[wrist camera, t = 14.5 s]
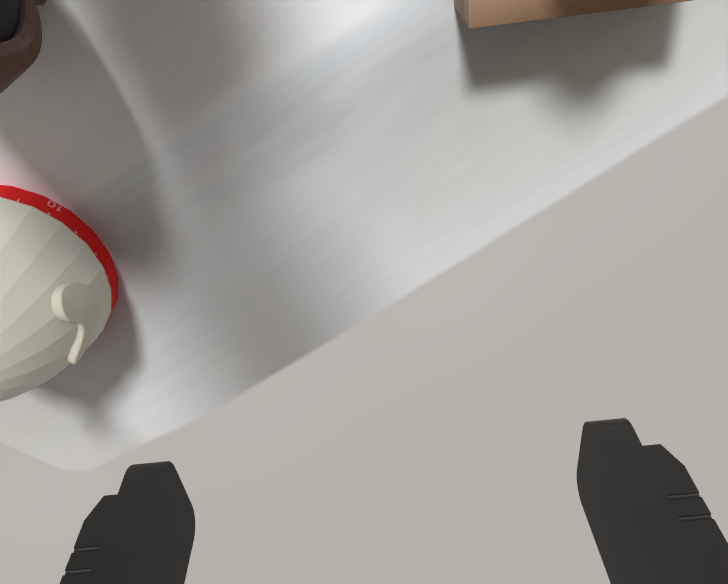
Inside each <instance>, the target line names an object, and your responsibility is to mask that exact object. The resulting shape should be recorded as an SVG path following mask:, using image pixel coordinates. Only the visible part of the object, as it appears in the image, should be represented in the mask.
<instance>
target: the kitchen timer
mask: <svg viewBox="0 0 728 584" xmlns="http://www.w3.org/2000/svg"><path fill="white" fill-rule="evenodd" d="M117 299H118V276H117V273H116V270H115V267H114V264H113V262H112V259H111V256H110V254H109V252H108V251H107V249H106V248H105V246H104V245H103V244H102V242H101V241H100V239H99V238H98V236H97V235H96V234H95V232H94V231H93V230H92V229H91V228H89V227H88V226H87V225H86V224H85V223H84V222H83V221H81V220H80V219H79V218H78V217H77V216H76V215H75V214H74V213H72V212H71V211H69V210H68V209H66V208H64V207H62V206H60V205H59V204H57V203H55V202H53V201H52V200H50V199H48V198H46V197H44V196H42V195H39V194H36V193H33V192H29V191H26V190H23V189H20V188H16V187H13V186H4V185H0V401H4V400H7V399H10V398H13V397H16V396H18V395H20V394H22V393H25V392H27V391H29V390H31V389H33V388H35V387H37V386H39V385H42V384H43V383H45V382H47V381H49V380H50V379H52V378H53V377H54V376H56V375H57V374H58V373H60V372H61V371H62V370H63V369H65V368H66V367H67V366H68V365H69V364H71V363H72V364H73V365H75V364H77V363H78V361H79V360H80V358H81V357H82V355H83V354H84V352H85V351H86V349H87V348H88V347H89V346H90V345H91V344H92V343H93V342H94V341H95V340H96V339H97V337H98V336H99V335H100V334H101V332H102V331H103V329H104V327H105V325H106V323H107V321H108V319H109V317H110V315H111V313H112V311H113V308H114V306H115V303H116V301H117Z"/></svg>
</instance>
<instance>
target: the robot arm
mask: <svg viewBox="0 0 728 584" xmlns="http://www.w3.org/2000/svg"><path fill="white" fill-rule="evenodd" d="M577 485H578V491H579V496H580V500H581V503H582V506H583V509H584V512H585V514H586V517H587V520H588V522H589V525H590V528H591V531H592V533H593V536H594V539H595V542H596V544H597V547H598V550H599V552H600V555H601V558H602V560H603V563H604V566H605V569H606V571H607V574H608V577H609V580H610V583H611V584H728V543H727V541H726V540H725V538H724V536H723V534H722V532H721V531H720V529H719V527H718V525H717V524H716V522H715V520H714V519H712V518H711V513H710V511H709V509H708V507H707V506H706V504H705V502H704V500H703V498H702V497H700V496H699V491H698V489H697V488H696V486H695V484H694V482H693V481H692V479H691V477H690V475H689V473H688V471H687V470H686V468H685V466H684V465H683V464H682V463H681V462H680V461H678V460H677V459H676V458H675V457H674V456H673V455H672V454H671V453H670V452H668V451H667V450H666V449H665V448H664V447H663V446H662V445H661V444H657V445H647V446H642V444H641V442H640V440H639V438H638V436H637V434H636V433H635V430H634V429H633V427H632V425H631V423H630V422H629V421H628V420H627V419H625V418H621V419H611V420H601V421H591V422H585V423H584V425H583V430H582V438H581V444H580V452H579V459H578V466H577ZM194 535H195V516H194V510H193V507H192V504H191V502H190V500H189V498H188V495H187V493H186V491H185V489H184V487H183V484H182V482H181V480H180V478H179V475H178V473H177V471H176V469H175V467H174V465H173V464H172V463H171V462H169V461H166V462H156V463H145V464H135V465H131V466H130V467H129V468H128V469H127V471H126V473H125V475H124V478H123V481H122V484H121V487H120V489H119V492H118V495H108V496H104V497H103V498H102V499H101V500H100V501H99V503H98V504H97V505H96V507H95V508H94V509H93V510H92V512H91V513H90V514H89V515H88V517H87V518H86V519H85V520H84V523H83V525H82V528H81V530H80V533H79V536H78V538H77V541H76V543H75V546H74V553H72V554H71V556H70V559H69V561H68V564H67V566H66V569H65V571H66V573H65V575H64V576H63V577H62V579H61V582H60V584H184V582H185V578H186V573H187V568H188V564H189V559H190V555H191V550H192V545H193V540H194Z"/></svg>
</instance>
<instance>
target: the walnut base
mask: <svg viewBox="0 0 728 584" xmlns="http://www.w3.org/2000/svg"><path fill="white" fill-rule="evenodd" d="M683 1H691V0H454V8H455V10H456V11H457V13H458V14H459V15H460V17H461V18H462V20H463V21H464V22H465V24H466V25H467V27H468V28H469V29H470V28H477V27H485V26H493V25H501V24H509V23H517V22H525V21H533V20H541V19H549V18H557V17H565V16H572V15H580V14H588V13H596V12H604V11H612V10H620V9H628V8H636V7H644V6H652V5H660V4H668V3H675V2H683Z"/></svg>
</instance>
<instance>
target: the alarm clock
mask: <svg viewBox="0 0 728 584" xmlns="http://www.w3.org/2000/svg"><path fill="white" fill-rule="evenodd" d="M35 2H36V3H37V4H38V5H44V4H45V3H46V0H0V93H1V92H3V91H4V90H5V89H6V88H7V87H8V86H9V85H10V84H11V83H12V82H14V81H15V80H16V79H17V78H18V77H19V76H20V75H21V74H22V73H23V72H25V71H26V70H27V69H28V68H29V67H30V66H31V65H32V64H33V62H34V61H35V60H36V58H37V56H38V54H39V51H40V47H41V40H42V31H41V22H40V17H39V13H38V9H37V6H36V3H35Z"/></svg>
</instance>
